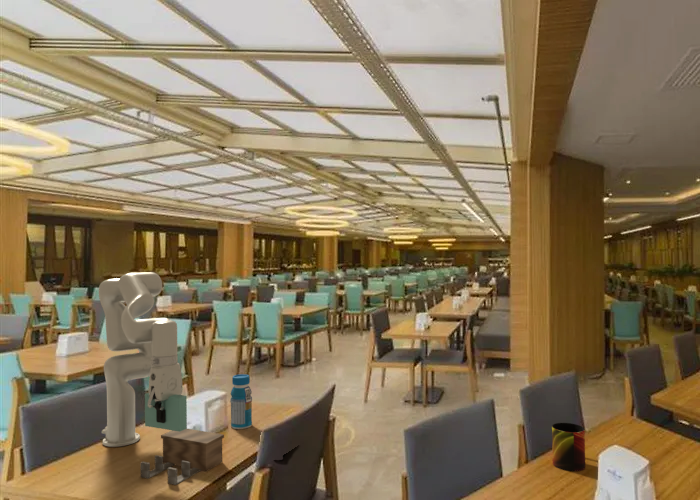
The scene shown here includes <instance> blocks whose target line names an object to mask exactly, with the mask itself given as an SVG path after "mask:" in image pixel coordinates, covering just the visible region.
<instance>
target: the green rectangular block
mask: <svg viewBox="0 0 700 500" xmlns="http://www.w3.org/2000/svg"><path fill="white" fill-rule="evenodd" d="M148 400H149V392H147V393H144V426H145V427H149V428H155V429H160V430H161V429H162V430H168V431H172V430H173V431H179V432H180V431H182V430H185V429H188V417H187V416H188V415H187V411H188V410H187V395H184V394H183V395H182V394H181V395H173V396H170V397H169V398H168V399H167V400H165V401H164V409H165V411H166V422H165V423H159V422H157V421H156V409H155V408H154V407H153V406H152V405H149V404H148ZM159 404H160V402H159Z"/></svg>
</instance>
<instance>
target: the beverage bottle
mask: <svg viewBox="0 0 700 500" xmlns="http://www.w3.org/2000/svg"><path fill="white" fill-rule="evenodd" d="M250 380H251V379H250V375H249V374H244V373H238V374H235V375H232V388H231V391H230V395H231V397H230V401H229V402H230V427H231V428H232V429H235V430H244V429H249V428H250V427H251V426H253V422H252V420H253V419H252V418H253V417H252V410H253V409H252V405H253V404H252V402H253V397H252V388H251V387H250Z"/></svg>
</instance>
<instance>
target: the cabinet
mask: <svg viewBox="0 0 700 500" xmlns="http://www.w3.org/2000/svg"><path fill="white" fill-rule="evenodd" d="M224 438H225V435H224V434H223V433H222V434H221V433H218V432H217V433H216V432H210V431H203V430H199V429H191V428H187V429H185V430H182V431H180V432H179V431H173V430H169V431H168V432H166V433H163V434H161V435H160V439H162V455H157V454H156V455H154V469H151V463H150V462H148V461H147V462H146V461H141V462H140V478H144V479H150V478H152V477H154V476H157V475H158V474H160V473H161V472H163V471H165V470H167V484H170V485H174V486H175V485H176V486H177V485H178V484H180V483H182V482H183V481H185V480H187V479H189V478H191V477H193V476H194V475H196V474H197V473H199V472H201V471H203V472H208V471H209V470H211V469H214V468H215V467H217V466H218V465H221V464H222V463H223V439H224ZM173 466H176V467H177V466H178V467H181V474H180V475H178V468H175V467H173Z"/></svg>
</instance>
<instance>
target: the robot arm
mask: <svg viewBox="0 0 700 500" xmlns="http://www.w3.org/2000/svg"><path fill="white" fill-rule="evenodd" d="M162 289H163V281H162V278H161V277H160V275H159V274H158V273H156V272H154V271H150V272H149V271H148V272H144V271H143V272H129V273H125V274H123V275H121V276H120V278H117V277H116V278H109V279H105V280H103V281H101V282H100V284H99V287H98V298H99V302H100V305H101V307H102V310H103V312H104V317H105V334H106V345H107V348H108V350H109V351H111V352H124V351H125V352H126V351H133V350H138V352H134V353H125V354H118V355H113V356H110V357H109V358H107V359H106V360H105V362H104V364H103V374H104V377H105V385H106V426H105V427H104V429H102V430H101V434H104V435H105V437H104V438H103V439H102V446H105V447H110V448H117V447H124V446H128V445H129V446H130V445H132V444H135V443H136V442H138V441H139V440H140V438H141V436H140V433H138V432H136V391H135V389H134V388H133V386H132V385H131V384H129V382H128V381H132V380H136V379H143V378H148V377H149V378H148V393H149V400H148V404H149V405H152V406H153V407H154V408H155V409H156V421H157V422H159V423H165V422H166V411H165V409H164V401H165V400H167V399H168V398H169V397H170V396H173V395H182V393H183V389H184V388H183V387H184V386H183V375H182V368H181V365H180V363H179V362H178V359H179V358H178V324H177V322H176V321H175V320H171V319H170V318H168V317H155V318H154V317H153V318H152V317H151V318H141V319H137V318H139V317H141V316H144V315H145V314H147V313H148V312H149V311H151V309H152V308H153V306H154V304H155V299H154V298H155V297H156V296H158V295H160V293H161V292H162ZM123 302H125V304H126V305H125V304H124V303H123ZM159 402H160V404H159Z"/></svg>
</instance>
